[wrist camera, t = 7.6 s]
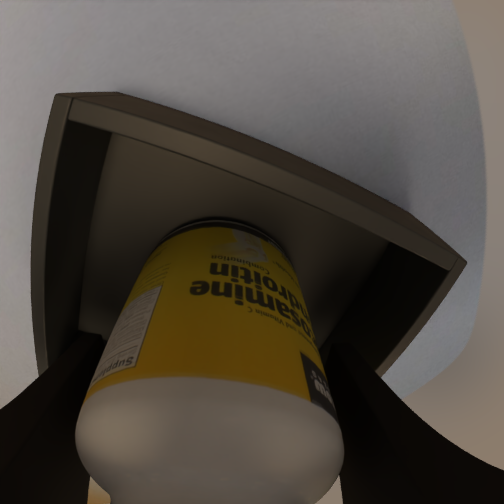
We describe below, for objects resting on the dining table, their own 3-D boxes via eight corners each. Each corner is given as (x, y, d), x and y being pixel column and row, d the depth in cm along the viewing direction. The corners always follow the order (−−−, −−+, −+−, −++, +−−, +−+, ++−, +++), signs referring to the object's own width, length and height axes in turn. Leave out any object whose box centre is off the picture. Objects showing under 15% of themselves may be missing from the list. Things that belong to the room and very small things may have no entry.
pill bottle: (315, 310, 14) (389, 570, 4) (194, 356, 15) (176, 588, 5) (255, 184, 11) (332, 606, 1) (115, 255, 12) (-13, 531, 2)
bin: (410, 213, 13) (468, 262, 9) (290, 391, 18) (301, 454, 14) (115, 91, 10) (54, 93, 6) (71, 326, 15) (40, 387, 11)
